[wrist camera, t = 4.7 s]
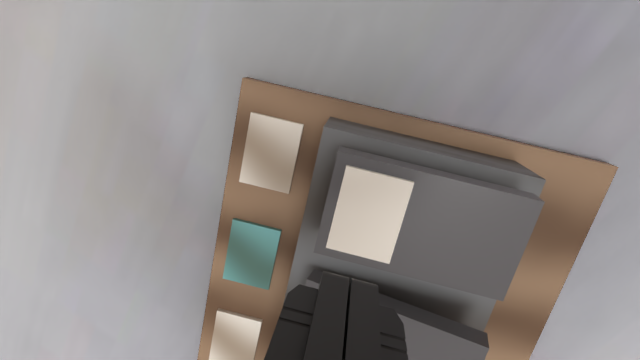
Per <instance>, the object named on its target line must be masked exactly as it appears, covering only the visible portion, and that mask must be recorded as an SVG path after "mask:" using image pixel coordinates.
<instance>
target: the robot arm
mask: <svg viewBox="0 0 640 360" xmlns="http://www.w3.org/2000/svg"><path fill="white" fill-rule="evenodd" d="M405 339H406V338H405V331H404V324H403V322H402V321H401V319H400V318H399V316H398V314H397V313H396V311H395V310H394V309H392V308H388V307H384V306H381V305H379V291H378V285H376V284H372V283H368V282H364V281H361V280H357V279H353V278H351V279H350V282H349V277H345V276H341V275H337V274H333V273H330V272H326V271H323V273H322V277H321V280H320V284H319V288H318V289H316V288H312V287H308V286H305V285H301V284H299V285H297V286H296V287H295V288H294V289H292V290H291V291H290V292H288V293H287V296H286V299H285V302H284V305H283V308H282V310H281V313H280V316H279V319H278V321H277V324H276V327H275V330H274V333H273V335H272V338H271V341H270V344H269V347H268V349H267V352H266V355H265V358H264V360H408V355H407V346H406V342H405Z"/></svg>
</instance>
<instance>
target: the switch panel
mask: <svg viewBox="0 0 640 360" xmlns="http://www.w3.org/2000/svg"><path fill="white" fill-rule="evenodd" d="M340 146H342V147H346V148H350V149H354V150H358V151H363V152H367V153H371V154H375V155H379V156H383V157H387V158H391V159H395V160H399V161H403V162H408V163H412V164H416V165H420V166H424V167H428V168H432V169H436V170H440V171H444V172H448V173H453V174H457V175H461V176H465V177H469V178H473V179H477V180H481V181H485V182H489V183H493V184H498V185H502V186H506V187H510V188H514V189H518V190H522V191H526V192H530V193H534V194H535V195H536V196H538V197H539V198H540V199H542V200H543V201H544V202H545V203H544V205H543V208H542V210H541V212H540V215H539V217H538V220H537V222H536V224H535V227H534V229H533V232H532V234H531V236H530V239H529V241H528V243H527V246H526V248H525V251H524V253H523V255H522V258H521V260H520V263H519V265H518V267H517V270H516V272H515V274H514V277H513V279H512V282H511V284H510V286H509V289H508V291H507V294H506V296H505V298H504V301H499V300H495V299H491V298H488V297H484V296H480V295H476V294H472V293H468V292H464V291H460V290H457V289H453V288H449V287H445V286H441V285H437V284H433V283H429V282H426V281H422V280H418V279H414V278H410V277H406V276H402V275H398V274H395V273H391V272H387V271H383V270H379V269H375V268H371V267H367V266H364V265H360V264H356V263H352V262H348V261H344V260H340V259H336V258H333V257H329V256H325V255H321V254H317V253H313V252H314V248H315V244H316V240H317V236H318V232H319V228H320V224H321V220H322V215H323V211H324V207H325V203H326V199H327V195H328V191H329V187H330V182H331V178H332V174H333V170H334V166H335V162H336V158H337V154H338V150H339V147H340ZM617 169H618V167H616V166H614V165H611V164H609V163H605V162H601V161H597V160H593V159H588V158H584V157H580V156H576V155H572V154H567V153H563V152H559V151H555V150H551V149H546V148H542V147H538V146H534V145H530V144H525V143H521V142H517V141H513V140H509V139H504V138H500V137H496V136H492V135H488V134H483V133H479V132H475V131H471V130H466V129H462V128H458V127H454V126H450V125H445V124H441V123H437V122H433V121H429V120H424V119H420V118H416V117H412V116H408V115H403V114H399V113H395V112H391V111H387V110H382V109H378V108H374V107H370V106H366V105H361V104H357V103H353V102H349V101H345V100H340V99H336V98H332V97H328V96H323V95H319V94H315V93H311V92H307V91H302V90H298V89H294V88H290V87H286V86H281V85H277V84H273V83H269V82H265V81H260V80H256V79H252V78H248V77H246V78H242V84H241V90H240V97H239V103H238V109H237V115H236V122H235V128H234V134H233V140H232V147H231V153H230V159H229V165H228V172H227V178H226V184H225V190H224V197H223V203H222V209H221V215H220V222H219V228H218V234H217V240H216V247H215V253H214V259H213V265H212V272H211V278H210V284H209V290H208V297H207V303H206V309H205V315H204V322H203V328H202V334H201V341H200V347H199V353H198V359H197V360H264V358H265V355H266V352H267V349H268V347H269V344H270V341H271V338H272V335H273V333H274V330H275V327H276V324H277V321H278V319H279V316H280V313H281V310H282V308H283V305H284V302H285V299H286V296H287V293H288V292H290V291H291V290H292V289H294V288H295V287H296V286H297V285H299V284H301V285H305V284H306V280H307V278H308V277H309V275H310V274H311V273H312V271H313V270H314V269H316V270H318V271H321V272H323V271H326V272H330V273H333V274H337V275H341V276H345V277H349V282H350V279H351V278H353V279H357V280H361V281H364V282H368V283H372V284H376V285H378V291H379V293H380V294H383V295H386V296H388V297H391V298H394V299H396V300H399V301H402V302H405V303H407V304H410V305H413V306H415V307H418V308H421V309H423V310H426V311H429V312H432V313H434V314H437V315H440V316H442V317H445V318H448V319H450V320H453V321H456V322H458V323H461V324H464V325H467V326H469V327H472V328H475V329H477V330H480V331H483V332H485V333H487V336H488V342H489V351H488V353H487V355H486V358H485V360H529V358H530V356H531V354H532V352H533V349H534V347H535V345H536V343H537V341H538V339H539V337H540V334H541V332H542V330H543V328H544V326H545V324H546V322H547V319H548V317H549V315H550V313H551V311H552V309H553V307H554V304H555V302H556V300H557V298H558V296H559V294H560V291H561V289H562V287H563V285H564V283H565V281H566V279H567V276H568V274H569V272H570V270H571V268H572V266H573V264H574V261H575V259H576V257H577V255H578V253H579V251H580V249H581V246H582V244H583V242H584V240H585V238H586V236H587V233H588V231H589V229H590V227H591V225H592V223H593V221H594V218H595V216H596V214H597V212H598V210H599V208H600V206H601V203H602V201H603V199H604V197H605V195H606V193H607V191H608V188H609V186H610V184H611V182H612V180H613V178H614V175H615V173H616V171H617Z"/></svg>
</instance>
